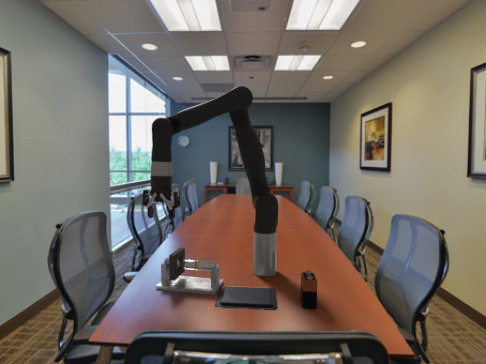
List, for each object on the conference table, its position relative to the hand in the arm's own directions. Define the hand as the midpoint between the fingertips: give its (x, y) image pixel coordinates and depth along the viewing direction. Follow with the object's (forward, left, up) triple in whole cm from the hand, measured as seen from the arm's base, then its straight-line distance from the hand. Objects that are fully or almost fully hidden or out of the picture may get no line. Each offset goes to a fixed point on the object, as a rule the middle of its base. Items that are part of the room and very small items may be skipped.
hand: (161, 218), depth 101 cm
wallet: (-33, +4, -25) cm, 42 cm away
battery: (-53, +3, -25) cm, 59 cm away
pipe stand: (-11, -1, -25) cm, 27 cm away
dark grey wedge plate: (-6, -1, -21) cm, 22 cm away
